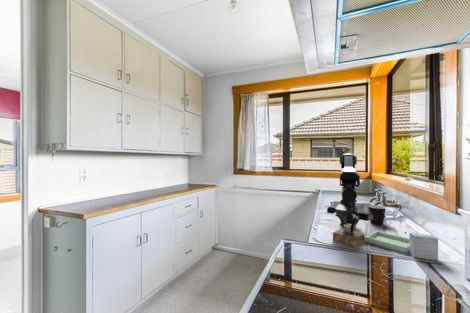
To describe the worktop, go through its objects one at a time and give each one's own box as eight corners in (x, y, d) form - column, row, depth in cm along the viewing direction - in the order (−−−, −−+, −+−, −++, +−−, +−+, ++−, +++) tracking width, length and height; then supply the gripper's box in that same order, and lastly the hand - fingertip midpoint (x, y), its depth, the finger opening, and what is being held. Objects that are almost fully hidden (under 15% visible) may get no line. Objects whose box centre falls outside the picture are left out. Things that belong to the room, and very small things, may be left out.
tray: (364, 242, 105) (364, 236, 105) (376, 235, 114) (376, 230, 114) (406, 254, 93) (406, 247, 92) (415, 245, 101) (415, 240, 101)
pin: (343, 241, 106) (343, 224, 106) (346, 239, 108) (346, 223, 108) (350, 243, 104) (350, 225, 104) (353, 241, 106) (353, 224, 105)
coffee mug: (368, 220, 140) (368, 204, 140) (384, 223, 135) (384, 206, 135) (368, 225, 129) (368, 208, 129) (386, 228, 125) (386, 210, 125)
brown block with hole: (332, 240, 107) (332, 232, 107) (342, 236, 113) (343, 228, 113) (354, 247, 99) (354, 238, 99) (364, 242, 105) (364, 233, 105)
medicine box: (432, 256, 91) (432, 234, 91) (438, 261, 86) (438, 238, 86) (409, 253, 93) (409, 232, 93) (413, 258, 89) (413, 236, 89)
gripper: (321, 196, 108) (320, 229, 108) (362, 203, 93) (362, 241, 93) (332, 194, 115) (332, 225, 115) (373, 200, 100) (373, 235, 100)
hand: (348, 231), depth 106 cm, fingers closed on pin, 3 cm apart
